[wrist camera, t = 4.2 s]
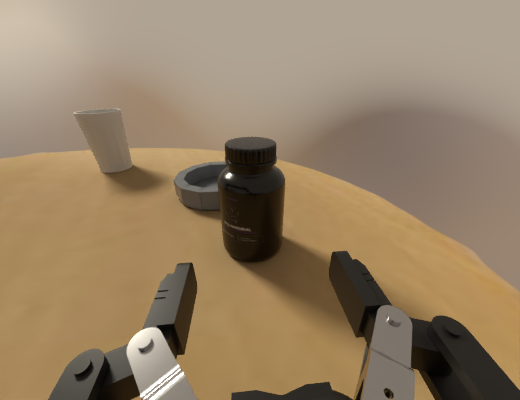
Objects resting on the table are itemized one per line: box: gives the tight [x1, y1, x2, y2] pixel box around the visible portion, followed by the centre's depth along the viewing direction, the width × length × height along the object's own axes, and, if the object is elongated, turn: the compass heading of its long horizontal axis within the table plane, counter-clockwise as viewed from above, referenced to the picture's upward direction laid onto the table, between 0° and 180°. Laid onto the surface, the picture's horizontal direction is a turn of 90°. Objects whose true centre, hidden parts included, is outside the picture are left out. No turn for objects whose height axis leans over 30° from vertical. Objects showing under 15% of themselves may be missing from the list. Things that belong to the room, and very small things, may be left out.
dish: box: [174, 162, 228, 211], centre depth 38 cm, size 13×13×3 cm
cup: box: [73, 109, 133, 173], centre depth 48 cm, size 8×8×12 cm
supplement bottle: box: [218, 137, 285, 262], centre depth 24 cm, size 7×7×12 cm
